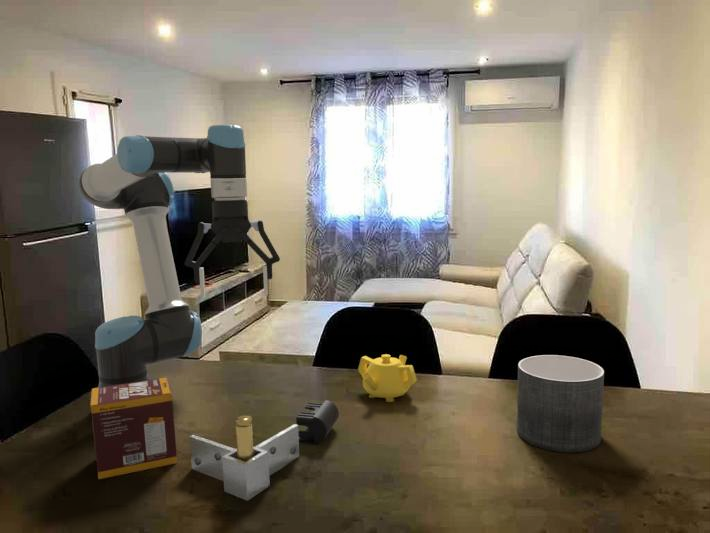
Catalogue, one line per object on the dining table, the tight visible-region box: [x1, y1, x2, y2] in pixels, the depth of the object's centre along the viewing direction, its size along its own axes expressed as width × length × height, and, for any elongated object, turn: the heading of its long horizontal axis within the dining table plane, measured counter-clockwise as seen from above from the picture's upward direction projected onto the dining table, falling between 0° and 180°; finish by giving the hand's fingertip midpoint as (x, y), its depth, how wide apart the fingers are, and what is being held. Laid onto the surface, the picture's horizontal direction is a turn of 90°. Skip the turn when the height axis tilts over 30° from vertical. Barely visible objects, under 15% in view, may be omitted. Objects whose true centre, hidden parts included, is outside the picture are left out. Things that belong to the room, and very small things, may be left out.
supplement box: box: [89, 377, 178, 480], centre depth 118 cm, size 10×15×16 cm
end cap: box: [295, 399, 340, 446], centre depth 128 cm, size 10×7×7 cm
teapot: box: [357, 353, 418, 403], centre depth 151 cm, size 20×18×11 cm
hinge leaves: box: [189, 423, 300, 501], centre depth 114 cm, size 18×18×7 cm
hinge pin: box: [234, 415, 254, 462], centre depth 106 cm, size 3×3×14 cm
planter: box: [516, 354, 605, 454], centre depth 125 cm, size 18×18×16 cm
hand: (235, 296), depth 124 cm, fingers open, 13 cm apart
